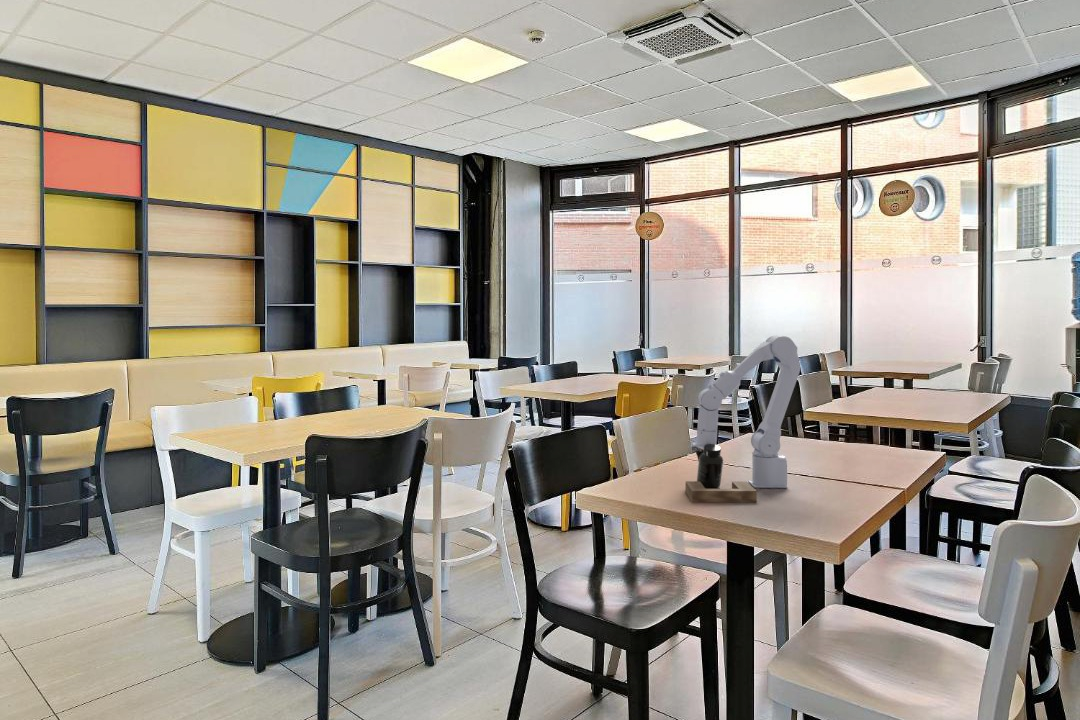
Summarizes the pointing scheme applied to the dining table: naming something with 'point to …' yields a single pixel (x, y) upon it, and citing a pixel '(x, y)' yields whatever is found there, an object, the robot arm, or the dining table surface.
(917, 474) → the dining table surface
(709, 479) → the supplement bottle
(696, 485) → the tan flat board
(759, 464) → the robot arm
